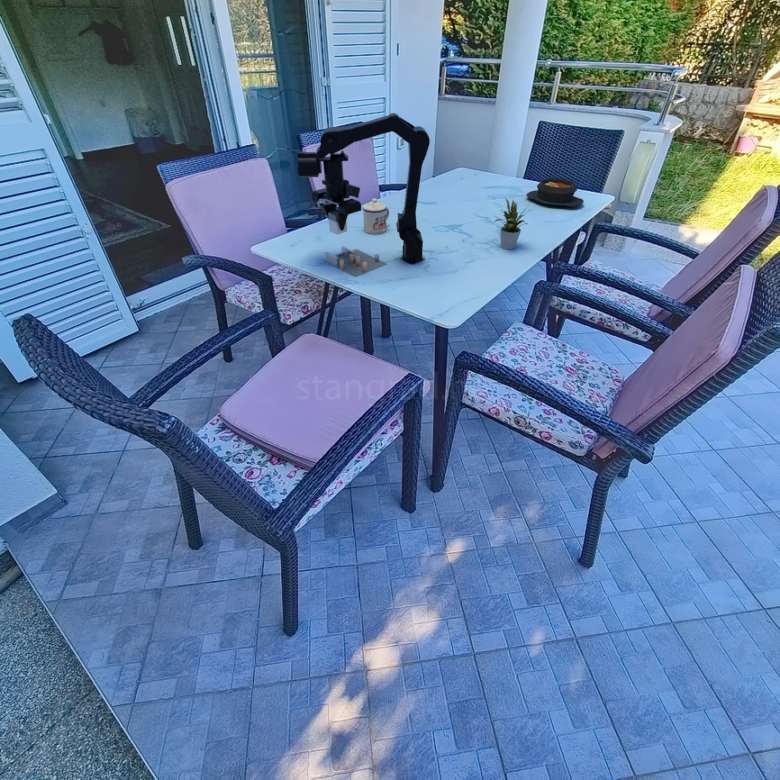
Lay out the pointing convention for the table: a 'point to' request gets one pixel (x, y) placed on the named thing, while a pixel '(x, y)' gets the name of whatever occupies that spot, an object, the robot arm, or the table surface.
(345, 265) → the mat
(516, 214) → the house plant
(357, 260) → the pegs
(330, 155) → the robot arm
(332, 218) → the block
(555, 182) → the casserole
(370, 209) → the teacup with lid
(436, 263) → the table surface
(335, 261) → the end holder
